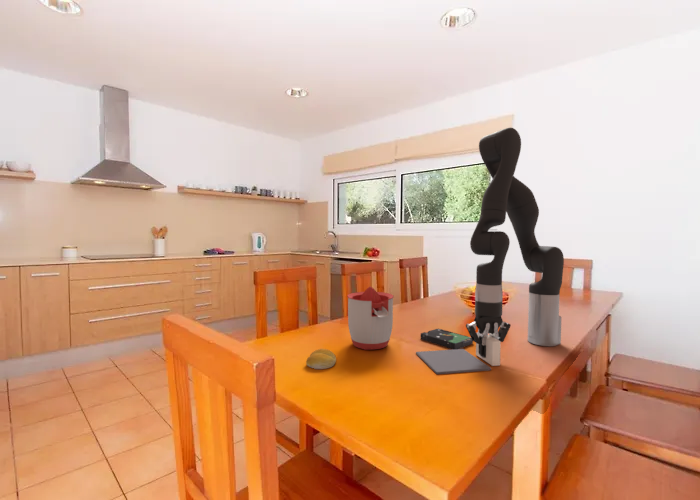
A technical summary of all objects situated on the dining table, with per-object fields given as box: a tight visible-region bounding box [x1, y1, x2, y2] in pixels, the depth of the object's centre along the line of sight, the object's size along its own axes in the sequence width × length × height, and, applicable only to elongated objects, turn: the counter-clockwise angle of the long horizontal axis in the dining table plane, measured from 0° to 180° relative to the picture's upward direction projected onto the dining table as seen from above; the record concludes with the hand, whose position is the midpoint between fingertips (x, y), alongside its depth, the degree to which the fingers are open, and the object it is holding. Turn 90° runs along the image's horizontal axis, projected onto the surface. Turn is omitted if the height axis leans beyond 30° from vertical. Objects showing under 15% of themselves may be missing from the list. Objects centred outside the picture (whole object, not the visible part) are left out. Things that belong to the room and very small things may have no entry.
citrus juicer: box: [347, 286, 395, 351], centre depth 117 cm, size 16×17×20 cm
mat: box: [415, 348, 492, 375], centre depth 103 cm, size 16×16×1 cm
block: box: [475, 332, 502, 367], centre depth 104 cm, size 2×9×7 cm, turn 10°
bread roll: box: [305, 348, 337, 370], centre depth 102 cm, size 8×9×4 cm
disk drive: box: [420, 328, 474, 350], centre depth 122 cm, size 10×3×15 cm
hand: (487, 356), depth 104 cm, fingers closed on block, 2 cm apart
